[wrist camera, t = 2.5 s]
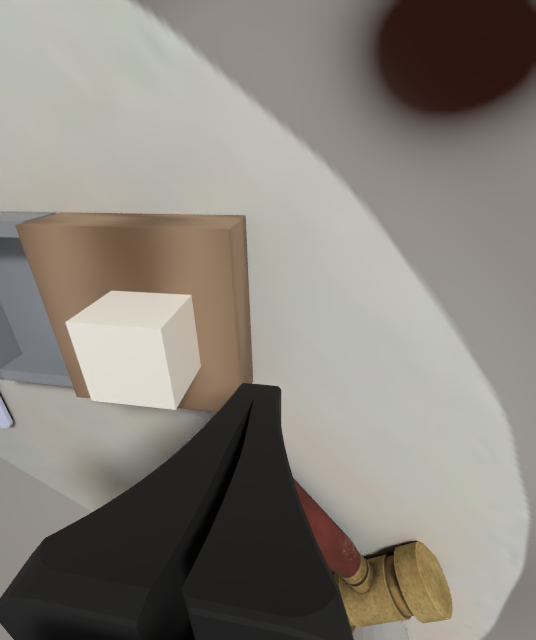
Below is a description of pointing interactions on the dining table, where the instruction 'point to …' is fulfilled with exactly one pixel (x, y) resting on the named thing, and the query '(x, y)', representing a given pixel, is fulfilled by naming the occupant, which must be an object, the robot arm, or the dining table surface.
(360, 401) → the dining table surface
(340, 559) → the gavel
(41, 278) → the board
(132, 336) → the tile block
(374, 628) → the coffee cup
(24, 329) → the tray
